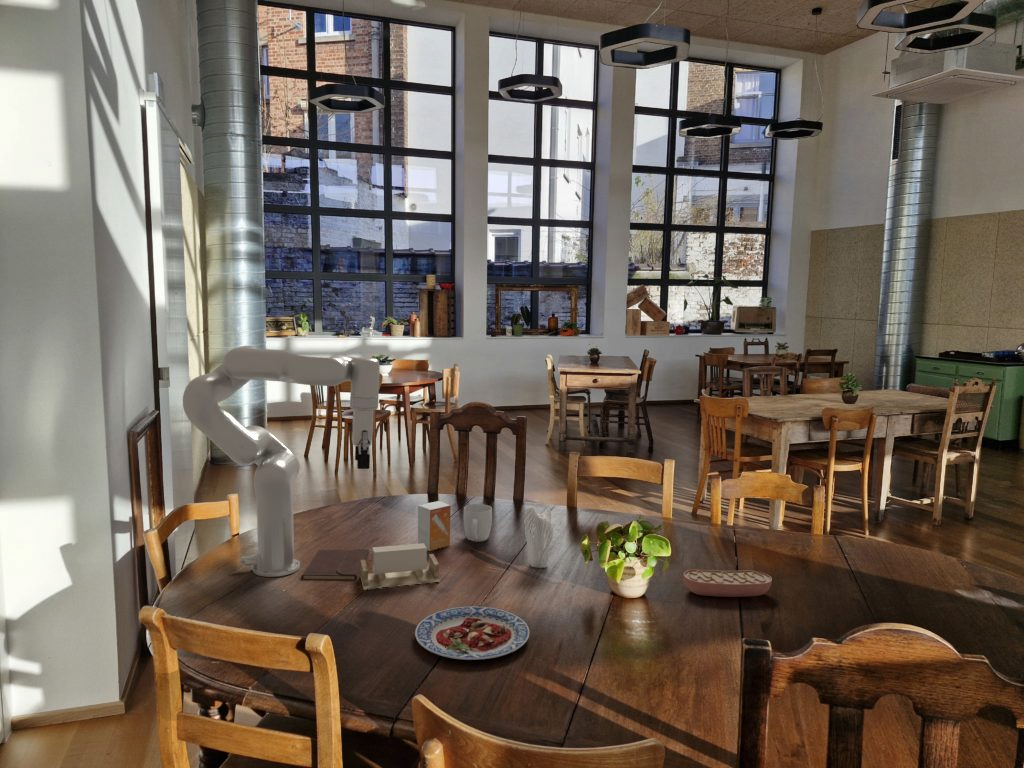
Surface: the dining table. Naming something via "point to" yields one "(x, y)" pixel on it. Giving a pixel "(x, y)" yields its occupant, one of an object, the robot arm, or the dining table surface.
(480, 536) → the mug
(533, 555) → the white fluted vase
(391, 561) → the clay bar
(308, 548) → the dining table surface
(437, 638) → the ceramic plate
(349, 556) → the notebook
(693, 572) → the oval trinket tray
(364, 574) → the rack
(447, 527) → the small box
